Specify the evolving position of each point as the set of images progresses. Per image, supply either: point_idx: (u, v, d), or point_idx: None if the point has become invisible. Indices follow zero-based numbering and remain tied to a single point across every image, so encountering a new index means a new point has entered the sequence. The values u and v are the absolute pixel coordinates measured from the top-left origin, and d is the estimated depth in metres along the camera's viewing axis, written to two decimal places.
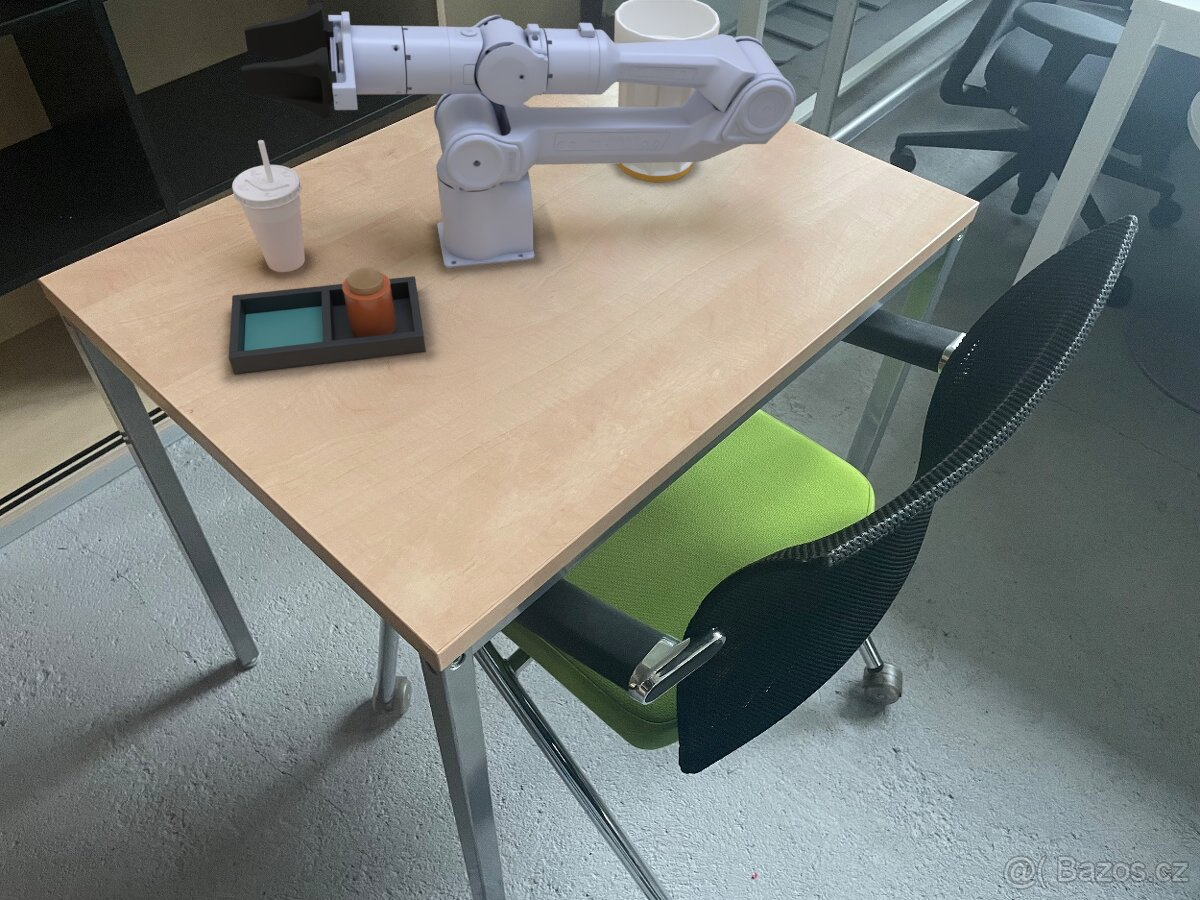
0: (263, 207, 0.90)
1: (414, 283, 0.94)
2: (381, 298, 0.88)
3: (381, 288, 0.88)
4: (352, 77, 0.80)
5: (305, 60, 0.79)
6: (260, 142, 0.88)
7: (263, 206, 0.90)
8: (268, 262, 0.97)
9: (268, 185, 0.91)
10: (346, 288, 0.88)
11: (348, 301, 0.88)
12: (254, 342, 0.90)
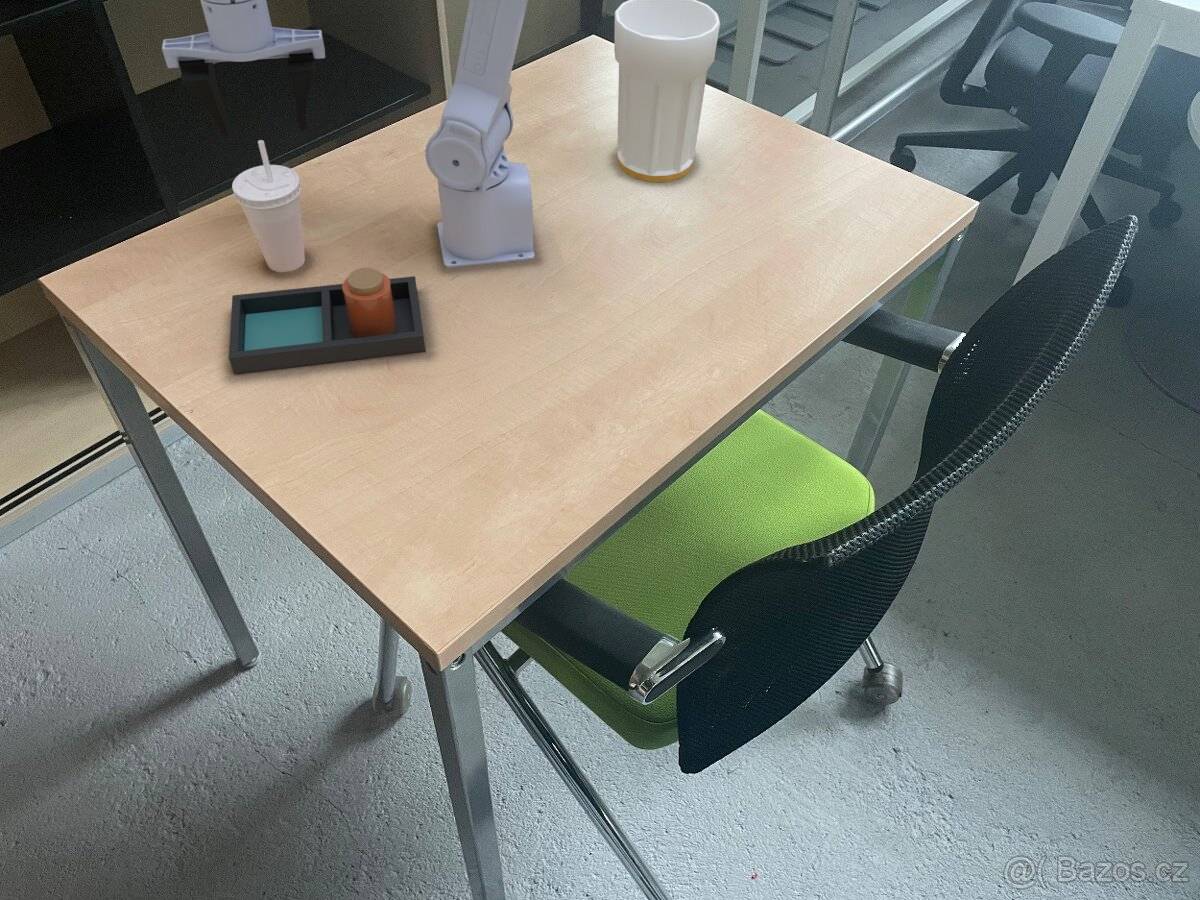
0: (263, 207, 0.90)
1: (414, 283, 0.94)
2: (381, 298, 0.88)
3: (381, 288, 0.88)
4: None
5: None
6: (260, 142, 0.88)
7: (263, 206, 0.90)
8: (268, 262, 0.97)
9: (268, 185, 0.91)
10: (346, 288, 0.88)
11: (348, 301, 0.88)
12: (254, 342, 0.90)
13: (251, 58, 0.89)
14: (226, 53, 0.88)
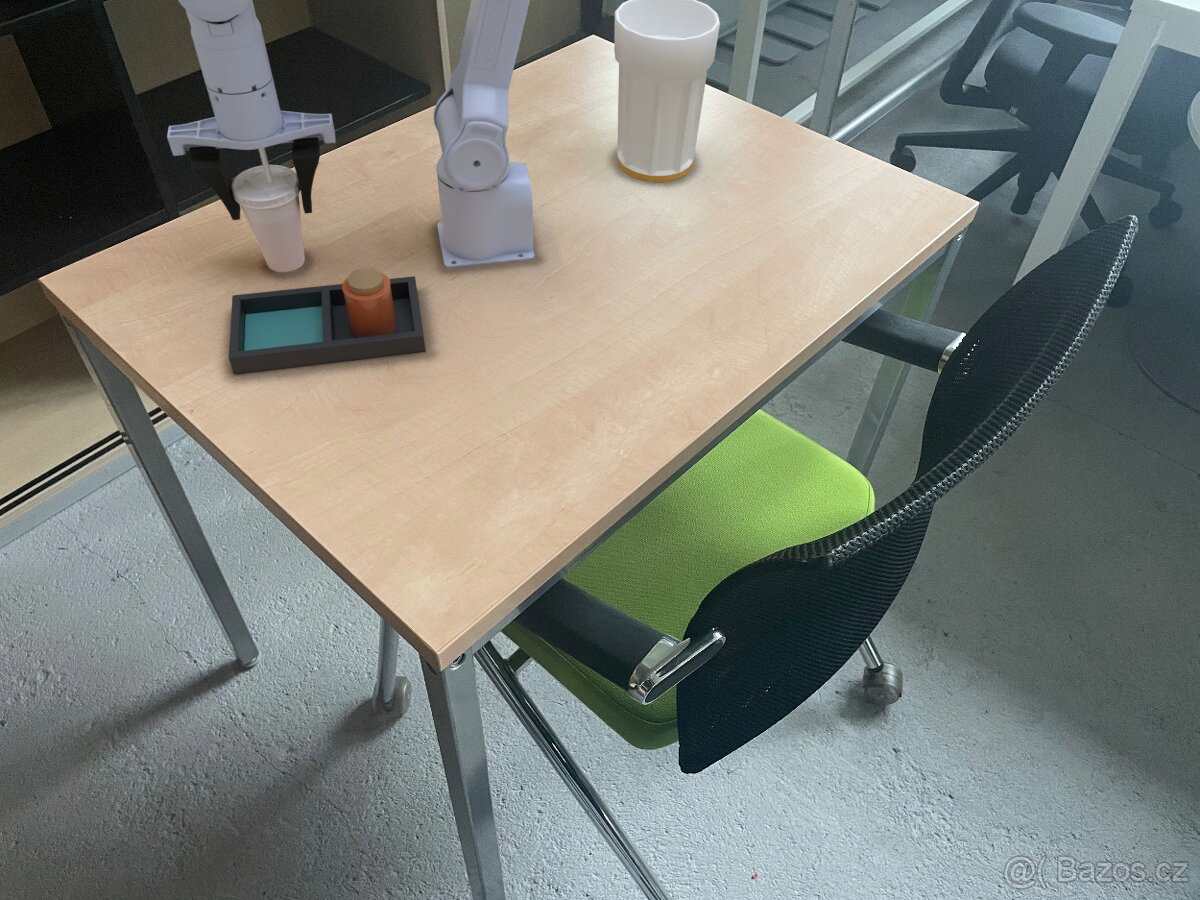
0: (262, 207, 0.90)
1: (414, 283, 0.94)
2: (381, 298, 0.88)
3: (381, 288, 0.88)
4: None
5: None
6: None
7: (262, 206, 0.90)
8: (268, 262, 0.97)
9: (267, 185, 0.91)
10: (346, 288, 0.88)
11: (348, 301, 0.88)
12: (254, 342, 0.90)
13: (259, 146, 0.86)
14: (233, 141, 0.85)
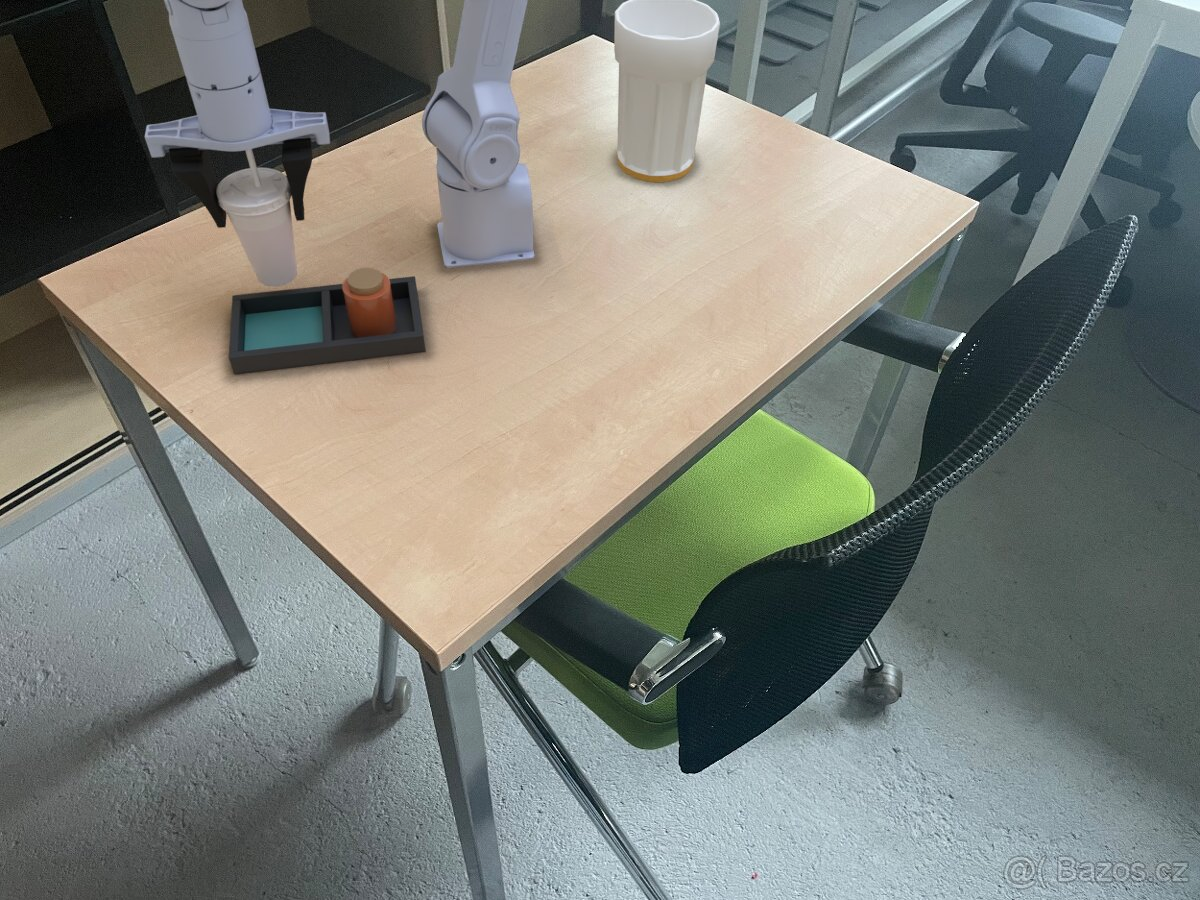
0: (250, 214, 0.83)
1: (414, 283, 0.94)
2: (381, 298, 0.88)
3: (381, 288, 0.88)
4: None
5: None
6: None
7: (249, 213, 0.82)
8: (256, 273, 0.89)
9: (255, 190, 0.83)
10: (346, 288, 0.88)
11: (348, 301, 0.88)
12: (254, 342, 0.90)
13: (246, 147, 0.78)
14: (217, 142, 0.78)
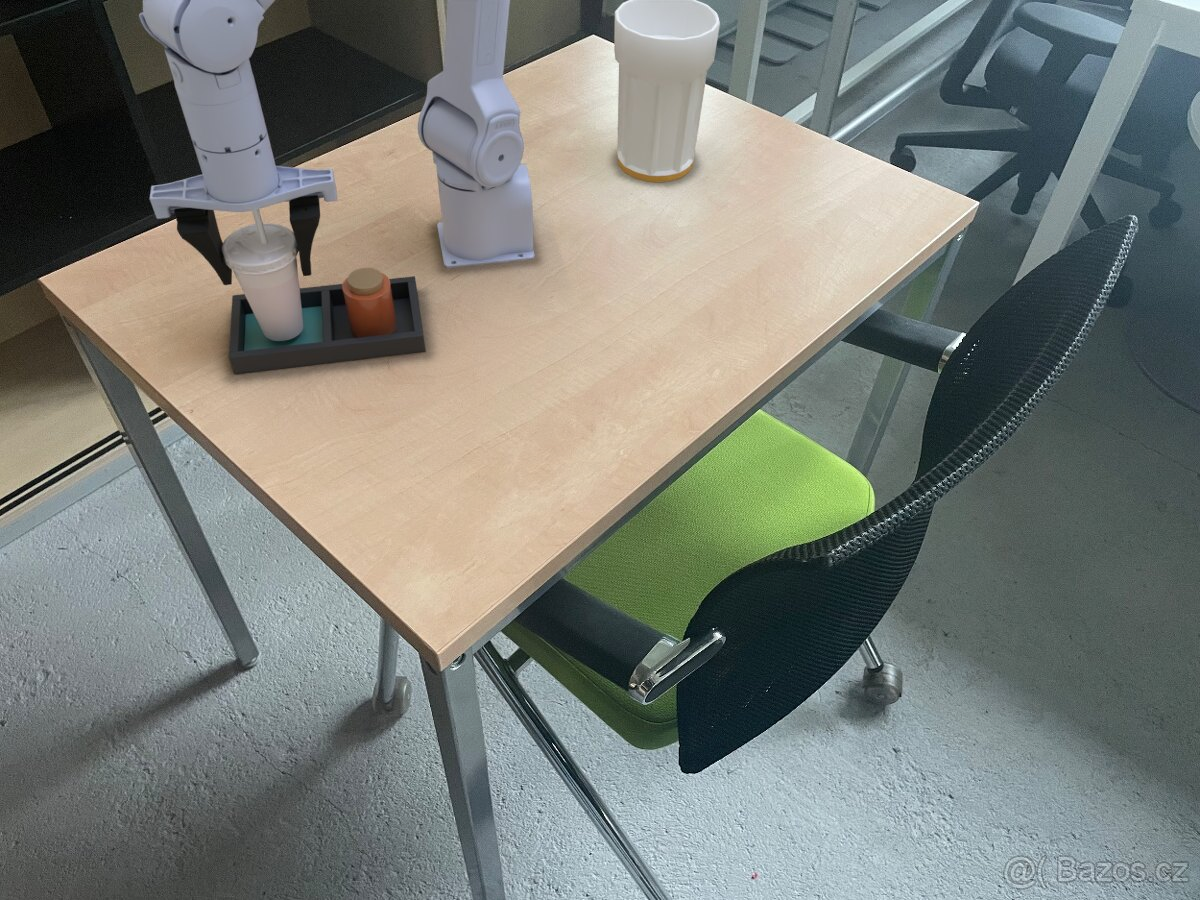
0: (257, 272, 0.81)
1: (414, 283, 0.94)
2: (381, 298, 0.88)
3: (381, 288, 0.88)
4: None
5: None
6: None
7: (257, 271, 0.81)
8: (263, 328, 0.88)
9: (262, 247, 0.82)
10: (346, 288, 0.88)
11: (348, 301, 0.88)
12: (254, 342, 0.90)
13: (253, 208, 0.77)
14: (224, 203, 0.76)
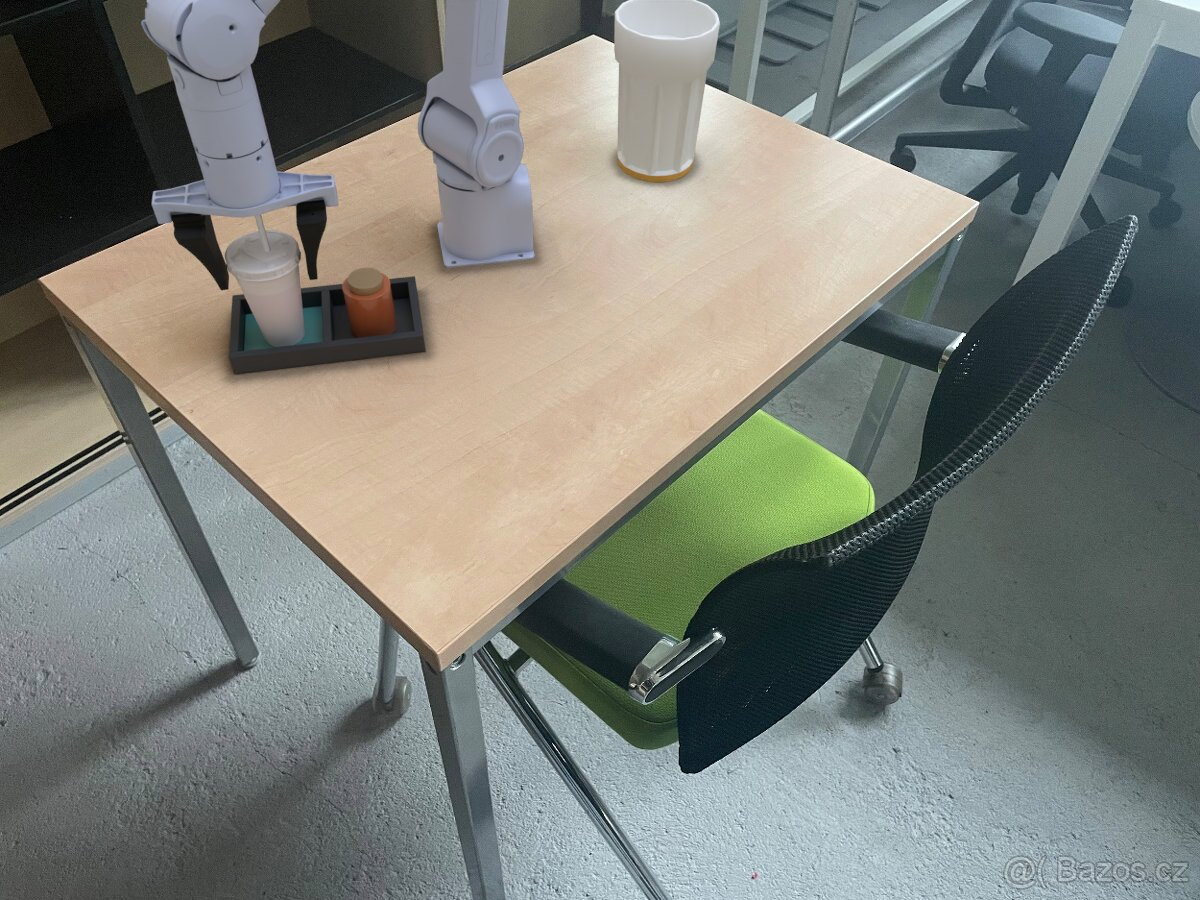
0: (259, 279, 0.82)
1: (414, 283, 0.94)
2: (381, 298, 0.88)
3: (381, 288, 0.88)
4: None
5: None
6: None
7: (259, 278, 0.82)
8: (264, 334, 0.89)
9: (264, 255, 0.83)
10: (346, 288, 0.88)
11: (348, 301, 0.88)
12: (254, 342, 0.90)
13: (255, 213, 0.77)
14: (226, 209, 0.77)
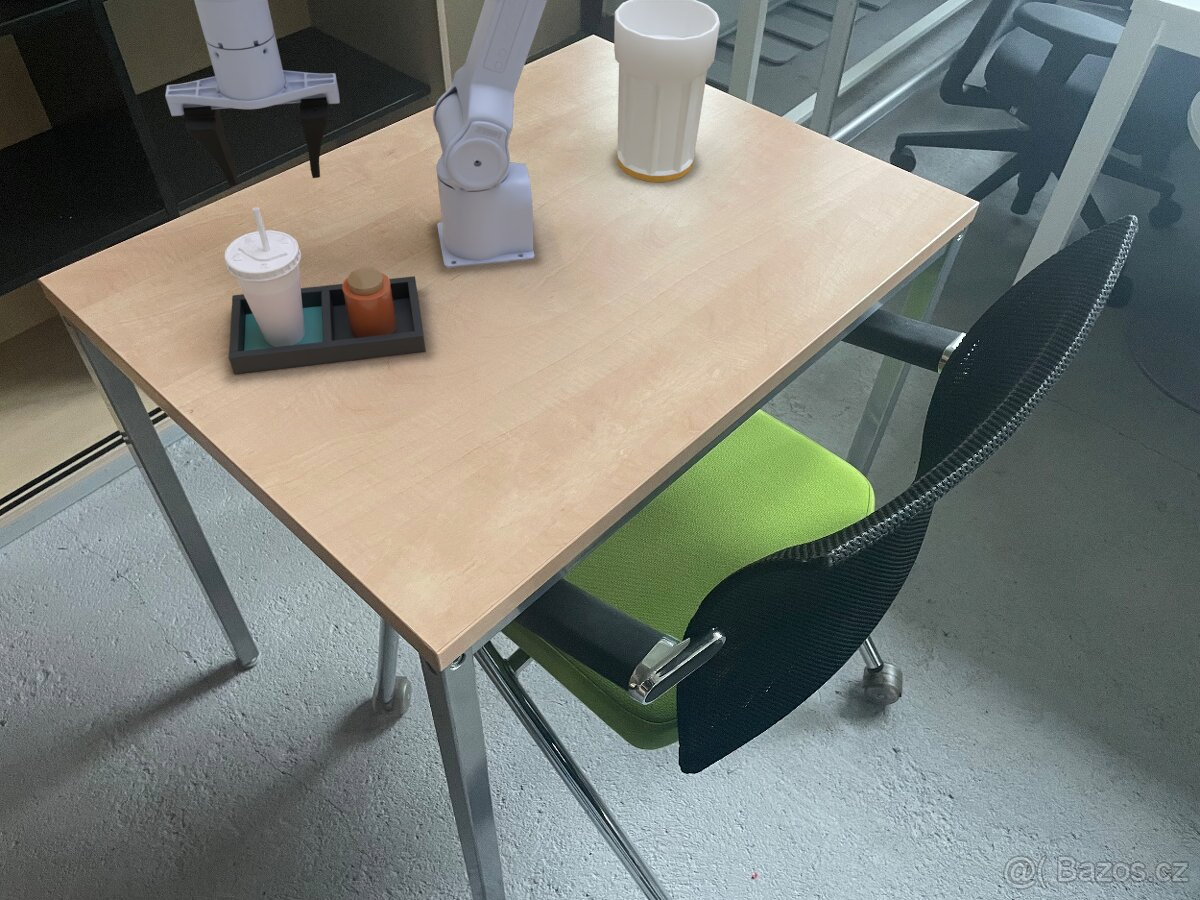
0: (259, 279, 0.82)
1: (414, 283, 0.94)
2: (381, 298, 0.88)
3: (381, 288, 0.88)
4: None
5: None
6: (255, 209, 0.80)
7: (259, 278, 0.82)
8: (264, 334, 0.89)
9: (264, 254, 0.83)
10: (346, 288, 0.88)
11: (348, 301, 0.88)
12: (254, 342, 0.90)
13: (261, 105, 0.83)
14: (234, 100, 0.82)
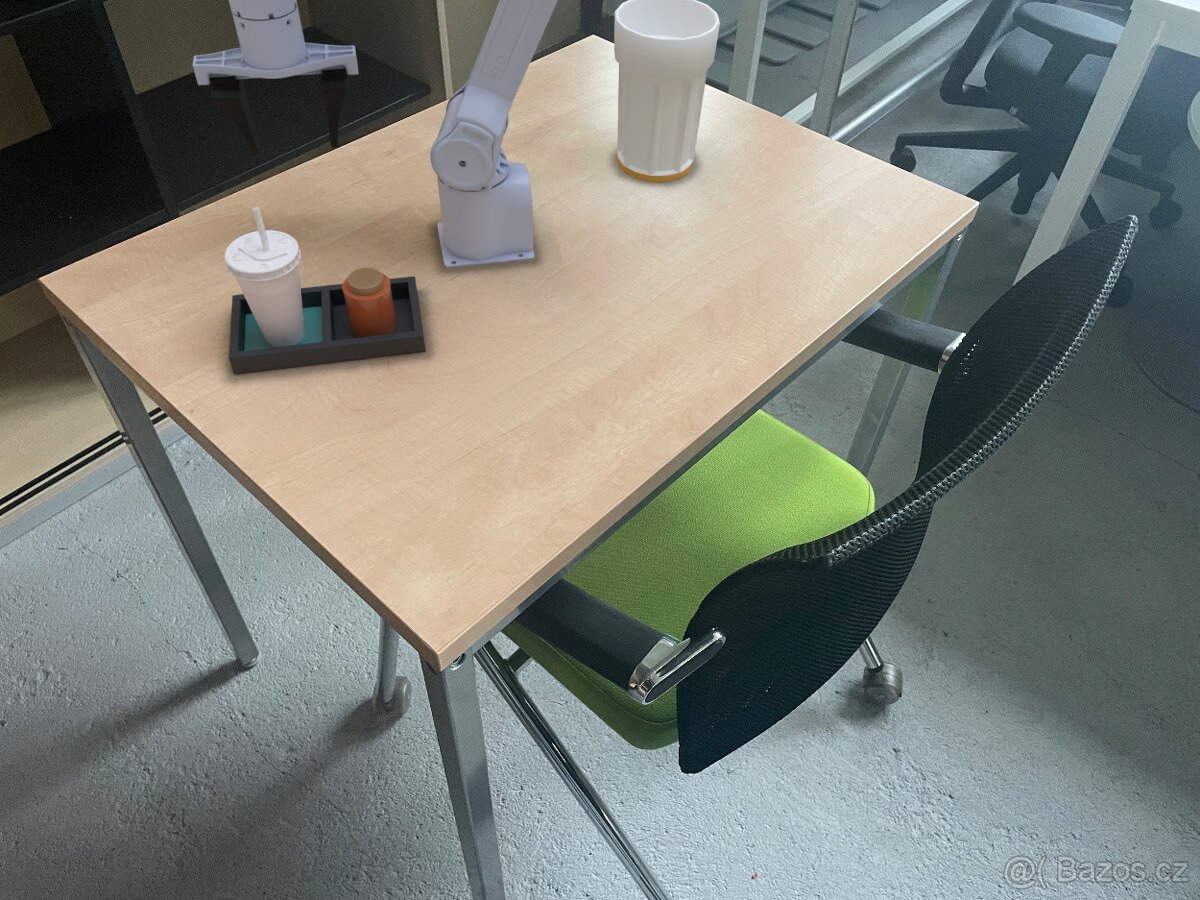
0: (259, 279, 0.82)
1: (414, 283, 0.94)
2: (381, 298, 0.88)
3: (381, 288, 0.88)
4: (211, 55, 0.88)
5: None
6: (255, 209, 0.80)
7: (259, 278, 0.82)
8: (264, 334, 0.89)
9: (264, 254, 0.83)
10: (346, 288, 0.88)
11: (348, 301, 0.88)
12: (254, 342, 0.90)
13: (284, 75, 0.87)
14: (258, 70, 0.86)
